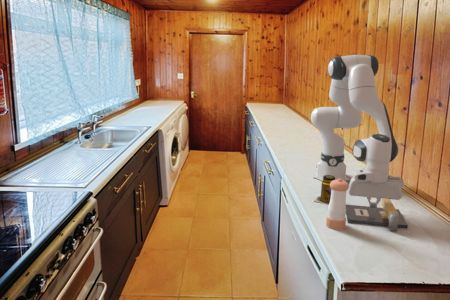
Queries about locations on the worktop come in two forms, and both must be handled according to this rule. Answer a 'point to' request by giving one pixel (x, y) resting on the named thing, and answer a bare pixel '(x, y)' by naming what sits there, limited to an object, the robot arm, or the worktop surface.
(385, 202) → the tan piece
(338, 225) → the pepper shaker
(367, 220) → the board
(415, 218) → the worktop surface
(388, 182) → the robot arm
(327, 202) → the condiment
